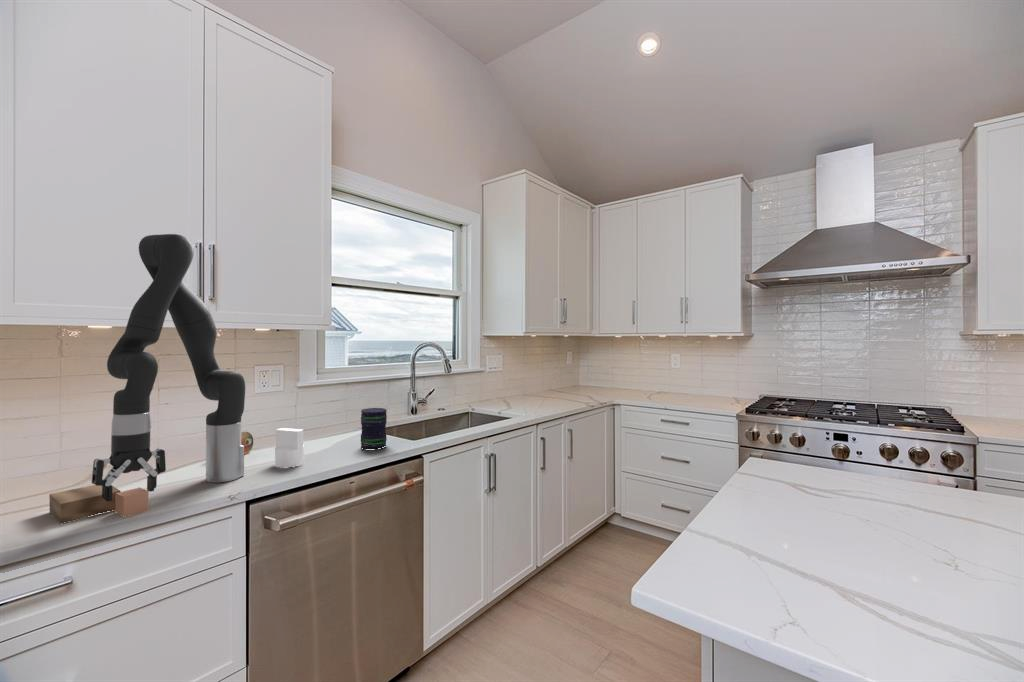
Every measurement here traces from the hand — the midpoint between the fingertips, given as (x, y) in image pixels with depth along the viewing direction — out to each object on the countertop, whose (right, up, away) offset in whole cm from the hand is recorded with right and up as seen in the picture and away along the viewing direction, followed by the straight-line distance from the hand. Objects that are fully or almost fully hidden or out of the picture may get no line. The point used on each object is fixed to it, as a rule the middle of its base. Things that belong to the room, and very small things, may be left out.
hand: (130, 495), depth 114 cm
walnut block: (-12, -4, +1) cm, 12 cm away
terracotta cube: (0, -4, +1) cm, 4 cm away
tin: (-5, -4, +51) cm, 51 cm away
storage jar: (+41, -4, +67) cm, 79 cm away
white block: (+19, -4, +43) cm, 47 cm away
